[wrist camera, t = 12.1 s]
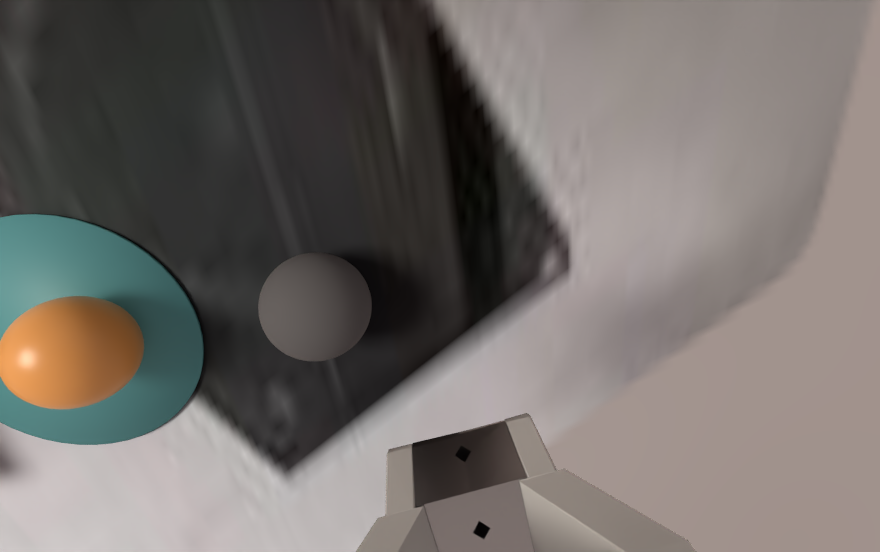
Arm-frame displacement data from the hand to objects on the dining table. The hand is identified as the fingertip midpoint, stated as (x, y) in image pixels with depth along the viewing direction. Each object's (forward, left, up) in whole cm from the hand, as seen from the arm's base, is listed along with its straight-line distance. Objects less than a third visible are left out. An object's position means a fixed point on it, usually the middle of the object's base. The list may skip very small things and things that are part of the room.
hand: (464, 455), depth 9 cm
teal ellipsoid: (-20, 0, -16) cm, 26 cm away
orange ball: (-18, 0, -13) cm, 22 cm away
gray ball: (-6, -1, -13) cm, 15 cm away
